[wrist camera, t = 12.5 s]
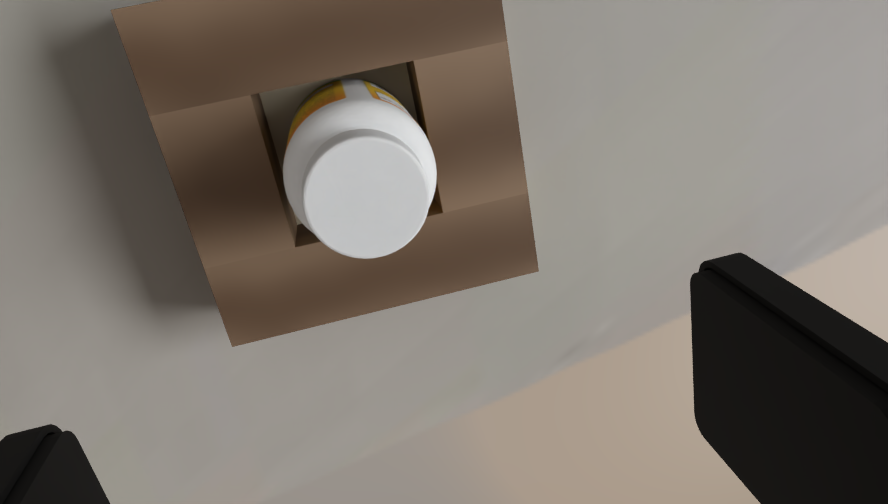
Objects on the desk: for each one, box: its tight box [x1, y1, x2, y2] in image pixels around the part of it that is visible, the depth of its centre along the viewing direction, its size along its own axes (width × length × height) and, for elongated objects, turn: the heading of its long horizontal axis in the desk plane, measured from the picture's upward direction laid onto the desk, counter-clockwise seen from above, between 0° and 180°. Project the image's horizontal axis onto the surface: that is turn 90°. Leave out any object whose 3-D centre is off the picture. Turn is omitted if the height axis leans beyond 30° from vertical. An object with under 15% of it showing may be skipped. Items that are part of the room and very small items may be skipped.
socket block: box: [111, 0, 539, 347], centre depth 28 cm, size 14×14×4 cm
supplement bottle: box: [283, 78, 437, 259], centre depth 25 cm, size 5×5×10 cm
